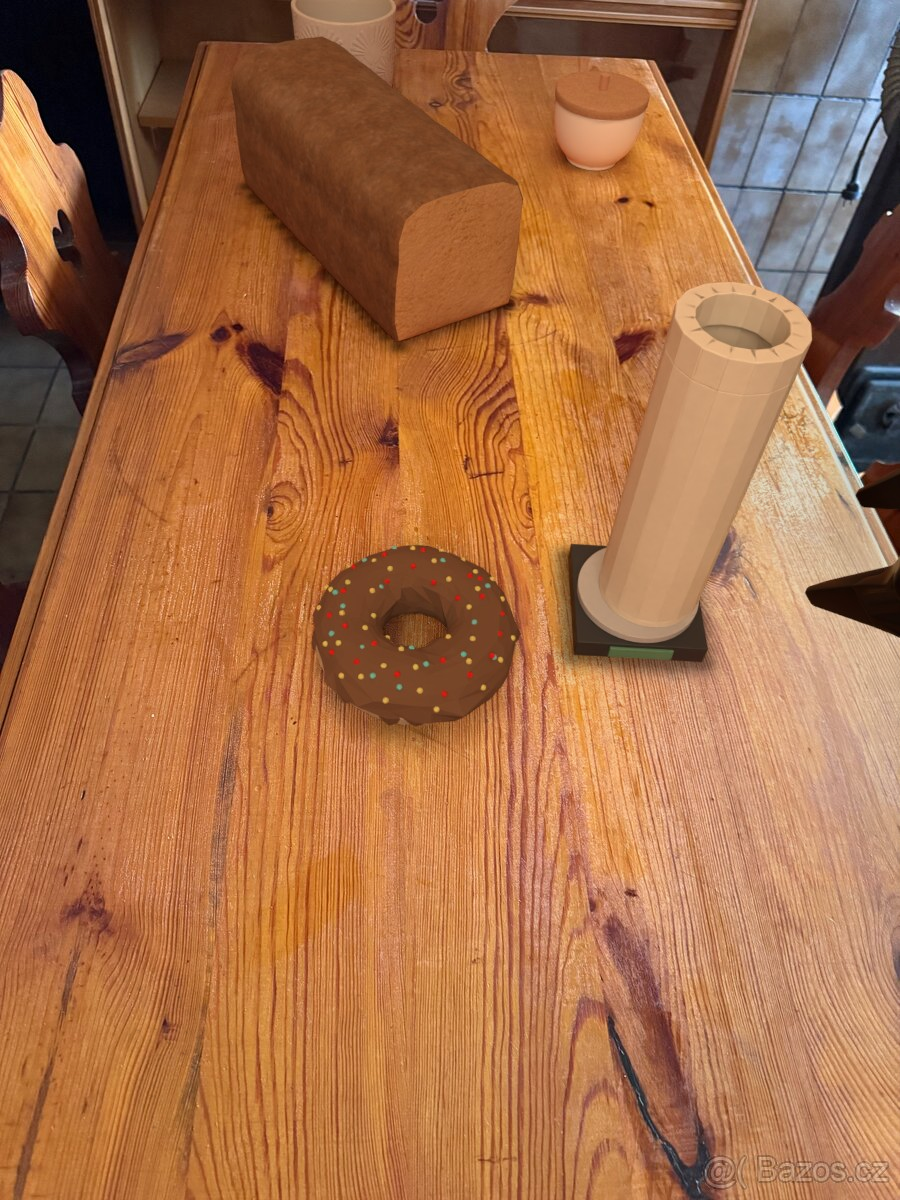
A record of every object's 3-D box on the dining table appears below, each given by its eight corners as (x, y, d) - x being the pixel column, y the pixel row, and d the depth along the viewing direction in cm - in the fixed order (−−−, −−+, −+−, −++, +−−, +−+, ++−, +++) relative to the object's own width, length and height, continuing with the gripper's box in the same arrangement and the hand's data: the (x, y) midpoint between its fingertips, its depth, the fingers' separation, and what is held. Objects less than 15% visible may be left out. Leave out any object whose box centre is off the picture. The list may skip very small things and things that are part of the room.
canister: (695, 636, 60) (815, 373, 43) (593, 616, 61) (671, 348, 44) (699, 561, 65) (809, 293, 47) (604, 543, 65) (678, 272, 48)
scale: (702, 664, 62) (711, 646, 60) (573, 657, 62) (578, 639, 60) (685, 564, 67) (693, 545, 66) (567, 557, 67) (572, 538, 66)
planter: (368, 74, 119) (366, -22, 110) (413, 112, 112) (415, 14, 104) (282, 90, 114) (273, -8, 106) (324, 130, 108) (318, 30, 100)
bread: (393, 350, 82) (393, 201, 71) (239, 185, 99) (219, 44, 88) (517, 308, 87) (535, 162, 76) (350, 158, 104) (345, 21, 93)
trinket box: (566, 130, 111) (578, 47, 104) (647, 152, 109) (665, 68, 101) (532, 165, 105) (543, 80, 98) (617, 189, 103) (634, 103, 95)
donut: (291, 604, 63) (284, 559, 59) (469, 558, 67) (474, 512, 63) (350, 776, 55) (347, 736, 51) (549, 713, 59) (560, 671, 55)
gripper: (1145, 233, 41) (827, 347, 53) (1079, 455, 31) (706, 533, 43) (1211, 429, 45) (900, 494, 57) (1171, 684, 35) (803, 697, 47)
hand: (834, 545), depth 51 cm, fingers open, 9 cm apart
